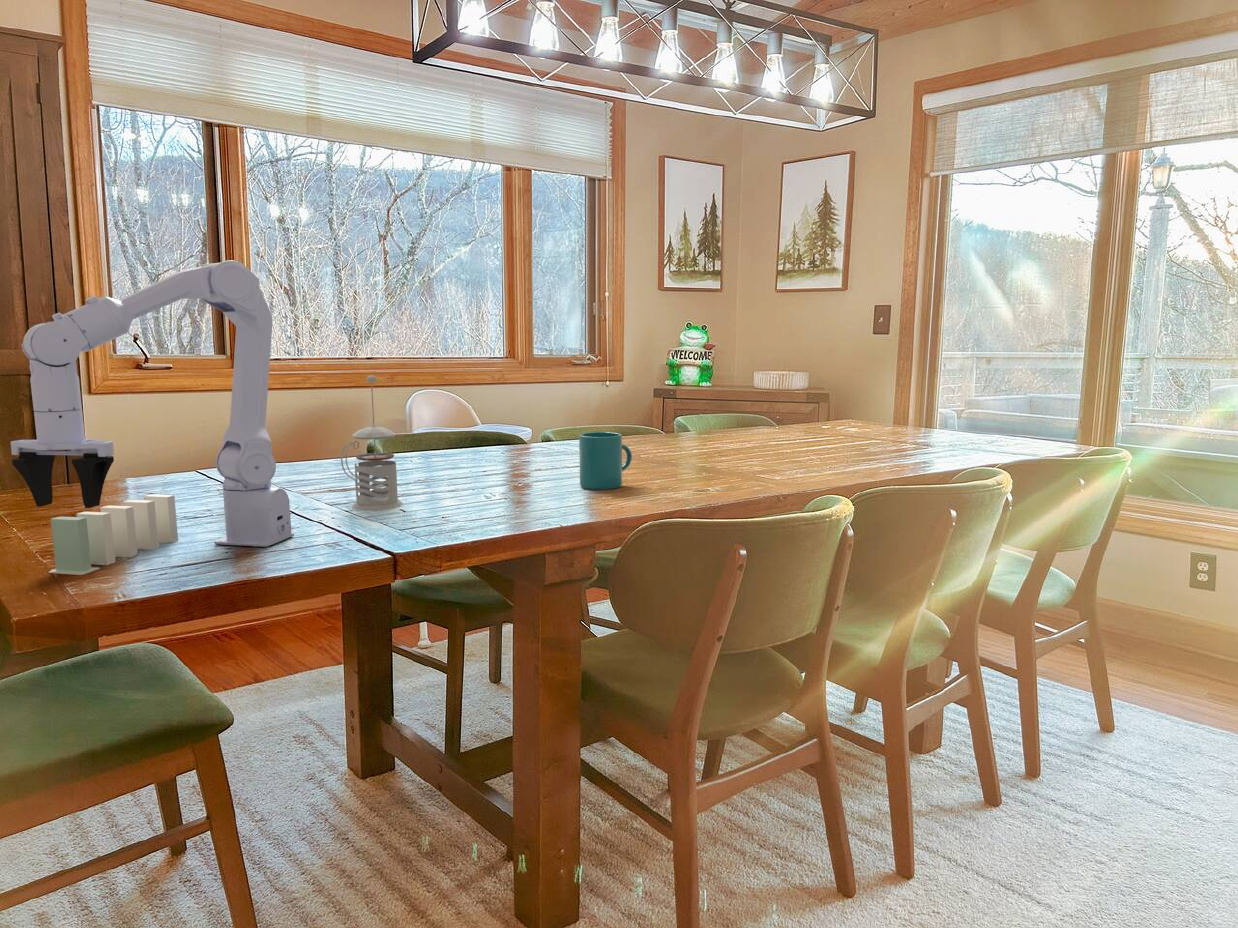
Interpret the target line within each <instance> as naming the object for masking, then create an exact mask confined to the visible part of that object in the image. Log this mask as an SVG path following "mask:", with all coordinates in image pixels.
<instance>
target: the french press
mask: <svg viewBox="0 0 1238 928" xmlns="http://www.w3.org/2000/svg"><path fill="white" fill-rule="evenodd" d="M373 382H374V383H375V382H377V378H376V376H375V375H368V376H367V377H366V383H371V384H370V385H371V386H370V388H371V409H372V411H371V412H372V425H371V426H367V427H364V428H361V429H358V430H357V431H356V432H355V433H353V434H352V435H351V436H352V437H353V439H356V440H354V441H351V442H350V443H348V444H346V445H345V446H344V447H343V449H342V451H341V455H340V464H341V467H342V470H343V472H344V474H345V475H346V476H347V477H348V478H350V479H352V480H353V481H354V483H355V497H356V499H355V502H353V504H352V505H351V508H352V509H353V510H356V511H357V510H358V511H384V510H385V511H386V510H392V509H397V508H400V507H402V506H403V505H404V503H403V501H402V500H401V499H399V498H398V477H397V476H398V475H397V472H398V471H397V462H396V461H394V460H393V461H392V460H391V459H393V458H394V457H395V454H394V453H390V452H376V450H377V449H376V440H389V439H392V438H395V437H396V435H397V433H395V432H393V430H390V429H388V428H386V427H383V426H382V427H381V426H377V425H375V414H374V413H375V412H374V395H373V394H374V393H373V392H374V391H373ZM357 440H373V446H374V452H369V453H367V452H365V453H361V454H357V455H355V459H357V460H359V462H358V465H357V463H354V473H353V472H352V471H351V470H350V467H349V464H348V457H347V455H348V451H349V449H350V447H351V446H352V445H353V446H352V447H353V449H354V450H357V449H358V448H360V442H359V441H357ZM356 443H357V447H356ZM346 448H347V449H346ZM345 450H346V451H345ZM344 452H345V455H344ZM343 455H344V457H345V466H346V469H347V470H348V472H349V473H350V474H351V475H352V476H350V475H349V474H348V473H347V471H346V469H345V467H344V464H343V463H344V461H343ZM370 476H372V477H370ZM353 477H354V478H353ZM380 479H381V480H380ZM382 480H384V481H382ZM378 486H384V487H378ZM358 487H359V488H358Z"/></svg>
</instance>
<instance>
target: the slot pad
mask: <svg viewBox="0 0 1238 928" xmlns="http://www.w3.org/2000/svg"><path fill="white" fill-rule="evenodd" d="M91 568H92V569H90V570H87V571H84V572H74V571H57V570H56V568H55V569H52V570H50V571H48V574H57V575H58V574H60V575H74V576H75V575H76V576H83V575H86V574H90V573H92V572H95V571H98V570H100V569H101V568H100V567H94V566H91Z"/></svg>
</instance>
